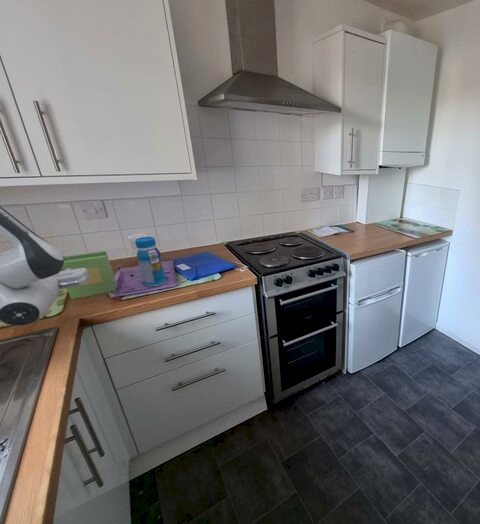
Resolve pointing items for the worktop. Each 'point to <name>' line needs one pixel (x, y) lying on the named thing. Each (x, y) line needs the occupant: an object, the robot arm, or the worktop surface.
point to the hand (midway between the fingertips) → (51, 273)
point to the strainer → (134, 242)
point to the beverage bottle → (150, 262)
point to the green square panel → (91, 274)
